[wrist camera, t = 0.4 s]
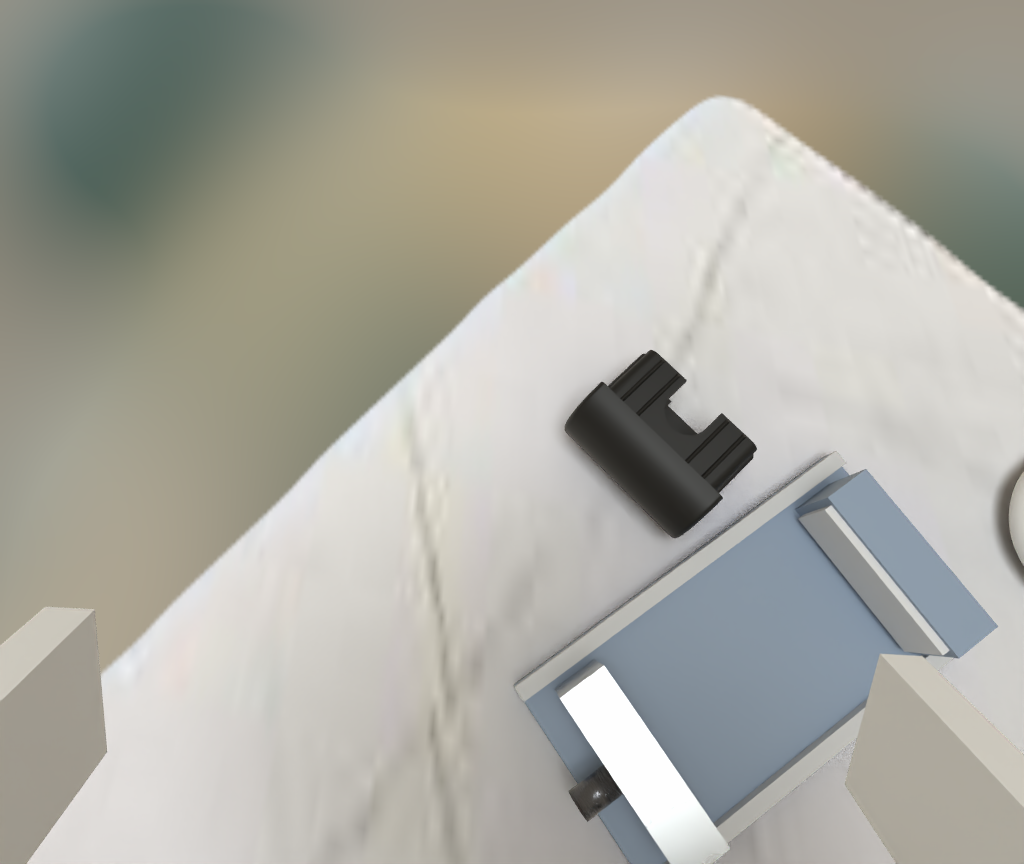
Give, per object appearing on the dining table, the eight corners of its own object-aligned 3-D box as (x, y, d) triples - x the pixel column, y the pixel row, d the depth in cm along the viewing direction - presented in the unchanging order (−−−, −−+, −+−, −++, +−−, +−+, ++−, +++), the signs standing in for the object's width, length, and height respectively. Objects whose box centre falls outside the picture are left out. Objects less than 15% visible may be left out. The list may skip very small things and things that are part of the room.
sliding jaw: (704, 820, 41) (730, 848, 36) (630, 880, 40) (646, 917, 35) (593, 659, 43) (603, 665, 38) (521, 713, 42) (522, 726, 37)
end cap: (559, 440, 48) (566, 413, 42) (629, 374, 50) (647, 338, 43) (663, 545, 46) (688, 534, 40) (734, 473, 48) (769, 451, 41)
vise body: (966, 630, 45) (1036, 633, 39) (648, 889, 41) (671, 936, 35) (823, 457, 48) (867, 434, 42) (514, 684, 44) (514, 696, 38)
